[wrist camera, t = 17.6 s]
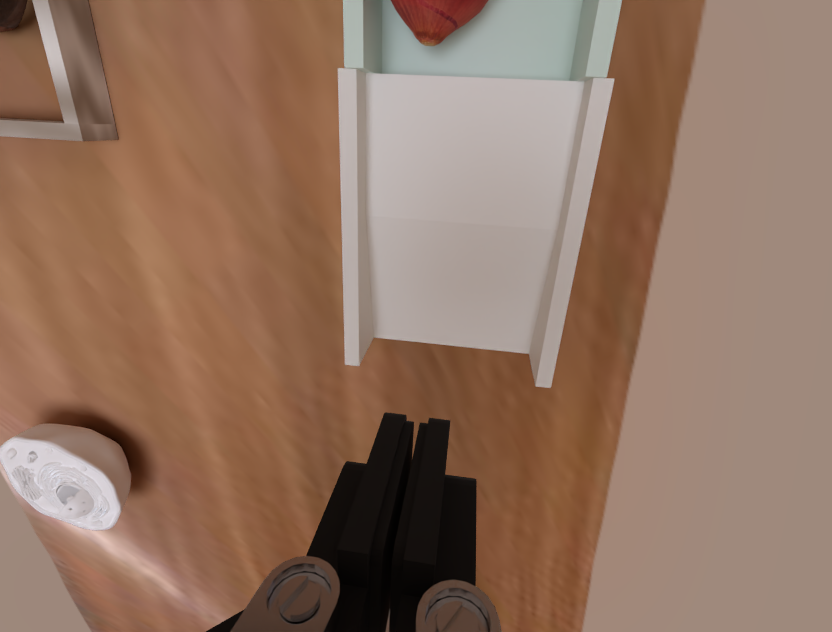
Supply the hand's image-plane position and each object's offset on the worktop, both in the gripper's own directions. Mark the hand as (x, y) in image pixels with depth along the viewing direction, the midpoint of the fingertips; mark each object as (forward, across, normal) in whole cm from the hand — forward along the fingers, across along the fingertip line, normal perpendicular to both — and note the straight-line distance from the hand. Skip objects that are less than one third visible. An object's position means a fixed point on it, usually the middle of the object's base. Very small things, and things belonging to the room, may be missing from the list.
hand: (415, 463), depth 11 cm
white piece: (+22, 0, -2) cm, 22 cm away
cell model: (+22, +34, +23) cm, 47 cm away
